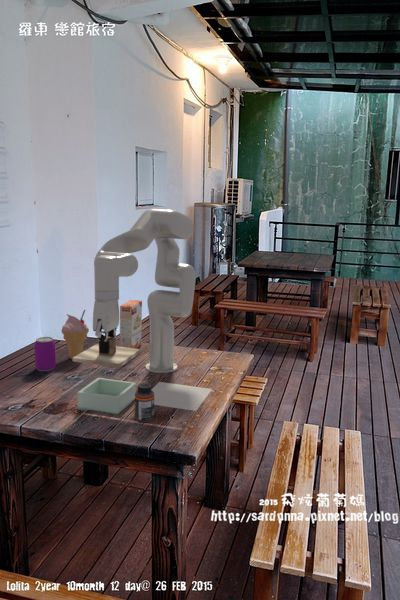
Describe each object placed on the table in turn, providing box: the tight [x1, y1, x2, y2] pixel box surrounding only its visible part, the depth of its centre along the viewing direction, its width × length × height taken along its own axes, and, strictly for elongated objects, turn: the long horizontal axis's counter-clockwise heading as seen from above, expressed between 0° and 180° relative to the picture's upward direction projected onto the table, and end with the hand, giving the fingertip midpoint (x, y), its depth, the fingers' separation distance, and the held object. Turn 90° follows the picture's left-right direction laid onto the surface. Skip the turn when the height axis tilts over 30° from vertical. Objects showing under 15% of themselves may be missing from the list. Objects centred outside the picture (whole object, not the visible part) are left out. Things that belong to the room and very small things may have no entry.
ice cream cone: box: [61, 309, 90, 360], centre depth 216 cm, size 11×11×20 cm
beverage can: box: [34, 336, 57, 372], centre depth 203 cm, size 8×8×12 cm
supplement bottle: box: [134, 382, 155, 424], centre depth 161 cm, size 6×6×11 cm
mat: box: [151, 381, 213, 412], centre depth 180 cm, size 20×20×1 cm
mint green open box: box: [77, 377, 137, 415], centre depth 172 cm, size 14×14×6 cm
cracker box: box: [119, 299, 143, 349], centre depth 231 cm, size 14×6×21 cm, turn 168°
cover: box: [72, 336, 141, 368], centre depth 168 cm, size 16×16×6 cm
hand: (107, 350), depth 168 cm, fingers closed on cover, 4 cm apart
